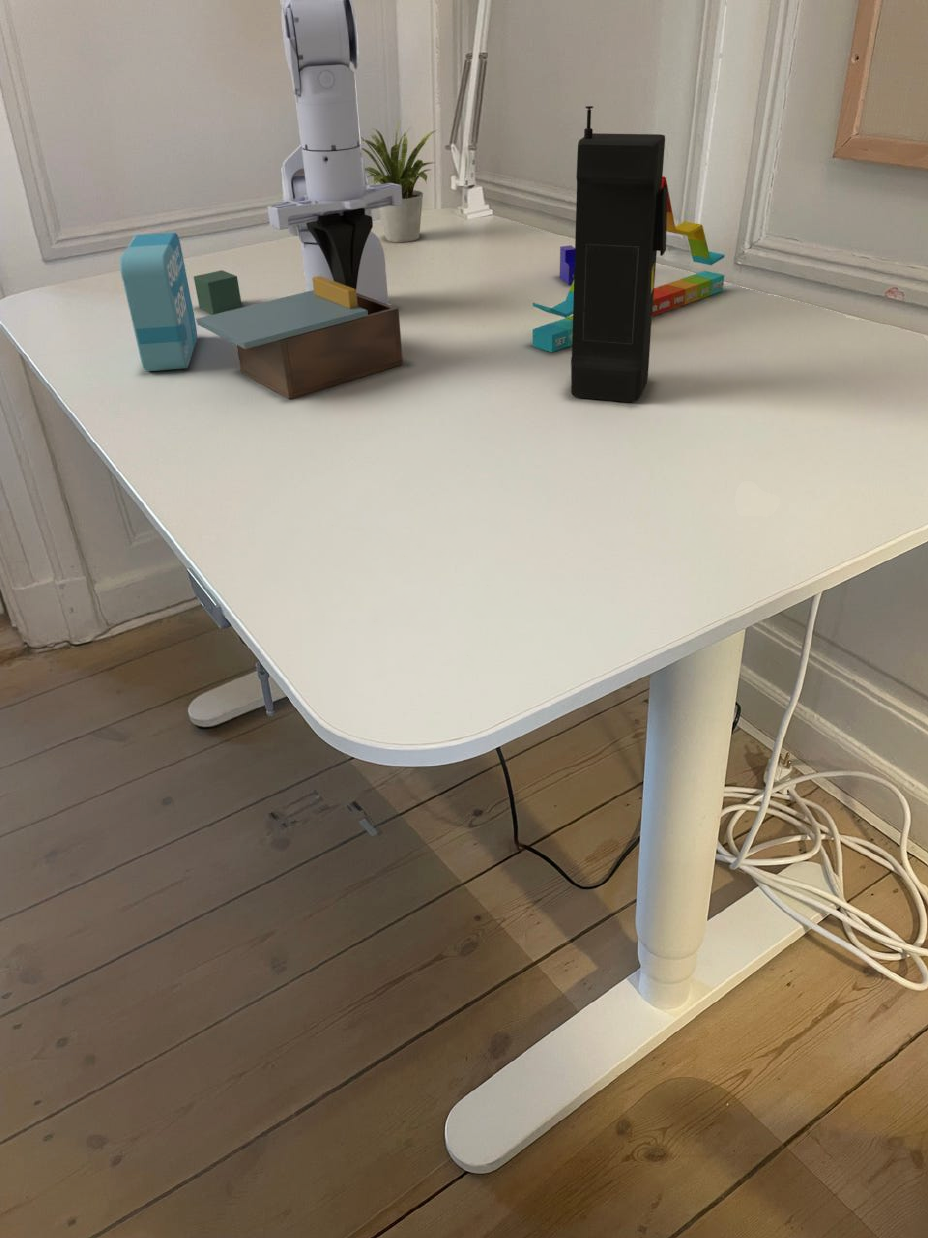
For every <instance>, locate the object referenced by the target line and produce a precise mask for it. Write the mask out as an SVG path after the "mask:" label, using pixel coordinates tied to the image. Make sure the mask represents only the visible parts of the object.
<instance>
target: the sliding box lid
mask: <svg viewBox="0 0 928 1238" xmlns="http://www.w3.org/2000/svg"><path fill="white" fill-rule="evenodd" d="M312 280H313V288H314V290H312V291H308V292H307V291H304V292H299V293H295V294H292V295H287V296H284V297H280V298H275V299H271V300H268V301H264V302H259V303H255V304H251V305H245V306H242V308H238V309H234V310H230V311H226V312H222V313H218V314H214V315H212V314H210V315H206V316H202V317H197V318H195V321H196V326H200V327H202V328H203V329H204V330H205V329H206V331H209V332H211V333H213V334H214V335H217V336H219V337H220V338H223V339H225V340H226V341H229V342H231V343H232V344H234V345H238V346H240V347H242V348H244V349H247V348H251V347H255V346H258V345H262V344H266V343H270V342H273V341H277V340H281V339H284V338H288V337H292V336H296V335H299V334H303V333H307V332H310V331H314V330H318V329H322V328H325V327H329V326H333V325H336V324H340V323H344V322H348V321H351V320H355V319H359V318H362V317H366V316H368V311H367V310H365V309H363V308H360V307H358V304H357V294H356V289H354V288H351V287H348V286H346V285H343V284H340V283H338V282H335V281H332V280H330V279H327V278H324V277H321V276H317V277H313V278H312Z"/></svg>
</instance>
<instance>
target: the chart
mask: <svg viewBox="0 0 928 1238" xmlns="http://www.w3.org/2000/svg"><path fill="white" fill-rule="evenodd" d="M665 185H667V229H666V232H668V233H672V234H677V235H681V236H686V237H687V241H688V245H689V249H690V253H691V257H692V262H693V263H698V264H703V265H708V266H713V265H715V264H716V263H718V262H720V261H722V260H723V259H725V254H723V253H719V252H715V251H710V250H709V247H708V243H707V238H706V234H705V231H704V226H703V224H701V223H695V222H691V221H683V222H681V223H679V224H677V225H676V224H675V218H674V214H673V209H672V204H671V198H670V197H671V196H670V193H669V187H668V182H667V177H666V176H662V188H663V187H664V186H665ZM724 286H725V274H721V273H717V272H713V271H708V270H703V271H700V272H696V273H694V274H691V275H689V276H686V277H682V278H680V279H678V280H674V281H671V282H669V283H666V284H662V285H659V286H657V287H654V295H653V309H652V317H655V316H657V315H660V314H662V313H665V312H668V311H671V310H673V309H677V308H679V307H682V306H685V305H688V304H691V303H694V302H696V301H698V300H702V299H703V298H707V297H709V296H711V295H715V294H717V293H720V292H723V290H724ZM573 304H574V281H573V283H572V285H570V288H569V291H568V293H567V295H566V297H565V300H563V301H562V302H559V303H558V304H556V305H554V306H552V307H549V306H546V305H543V304H540V303H535V302H532V307H535V308H536V309H539V310H541V311H543V312H546V313H548V314H551V315H554V316H558V317H562V319H559V320H556V321H553V322H550V323H549V322H548V323H547V324H544V325H540V326H538V327H535V328H532V347H533V348H536V349H540V350H543V351H546V352H549V353H554V352H557V351H559V350H562V349H565V348H568V347H572V336H573Z"/></svg>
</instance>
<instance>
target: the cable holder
mask: <svg viewBox="0 0 928 1238" xmlns="http://www.w3.org/2000/svg"><path fill="white" fill-rule="evenodd" d="M574 270H575V246H572V245H563V246H559V279H560V280H561V281H563V282H564V283H565V284H566V285H568V286H571V285H572V283H573V281H574Z"/></svg>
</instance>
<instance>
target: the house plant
mask: <svg viewBox="0 0 928 1238" xmlns="http://www.w3.org/2000/svg"><path fill="white" fill-rule="evenodd" d="M401 122H402V119H401V120H400V121H399V122H398V124H397V128H396V131H395V140H394V145H392V146H391V147H390V153H389V152H388V149H387V145H386V142H385V139H384V137H383V135H382V134H381V132H380V131H378V130H377V129H376V128H373V127H372V129H373V130H375V131H376V132H377V135H378V136H379V137H378V136H377V135H376V134H375V133H373V132H372V131H370V136H371V138H372V140H373V141H374V142H373V141H371V140H369V139H364V138H363V137H362V136H360V139H361V142H362V141H364V142H365V144H367V145H368V147H369V148H370V150H371V151H372V152H373V154H374V155H375V156H374V155H373V154H372V152H370V150H368V149H366V148H364V147H361V151H364V152H365V153H366V154H367V155H368V156H369V158H371V160H372V161H373V162H374V164H375V165H376V167H377V169H378V170H379V171H378V170H377V169H376V168H373V167H371V166H369V167H365V173H366V174H367V173H368V174H369V175H366V177H367V178H368V177H373V178H374V179H373V185H377V183H379V184H386V183H394V184H398V185H401V187H402V202H403V205H400V206H386V207H381V208H378V211H379V215H380V219H381V223H382V228H383V233H384V236H385V240H386V241H388V242H393V243H405V242H406V243H408V242H413V241H416V240H418V239H419V238H420V232H421V223H422V222H421V221H422V210H423V200H424V199H423V198H424V192H422V191H419V190H415V189H414V188H415V185H416V183H417V181H418V179H419V178H420V177H421V178H422V179H423V180H424V181H425V183H426V185H427V180H428V175H427V174H426V172H429V171H431V169H430V168H429V169H428V168H427V169H424V170H422V171H421V169H422V168H423V167H425V166H427V165H432V164H435V163H436V162H435V161H432V162H431V161H430V162H423V160H422V159H417V160H416V158H417V156H418V154H419V153H420V151H421V150H422V148H423V147H424V146H425V144H426V142H427V140H429V138H430V136H431V135H432V134H434V133H435V132H437V129H436V130H435V129H434V130H433V131H430V132H429V133H427V134H426V135H425V136H424V137H423V138H421V140H420V141H419V143H418V144H417V146H415V147H414V149H413V150H412V151H411V153H410V155H409V156H408V158H407V152H408V136H407V132H404V134H403V135H402V136H401V138H400V140H399V143H398V132H399V128H400V124H401ZM411 128H412V126H409V128H408V129H407V131H409V130H410V129H411ZM402 140H403V141H402ZM400 148H401V155H400ZM376 158H377V159H378V161H379V162H378V161H377V159H376ZM399 158H400V159H399ZM406 158H407V161H406ZM415 160H416V161H415ZM379 163H380V164H379ZM381 165H382V167H383V169H384V170H385V172H384V170H383V169H382V167H381ZM385 173H386V174H387V175H386V174H385Z"/></svg>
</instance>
